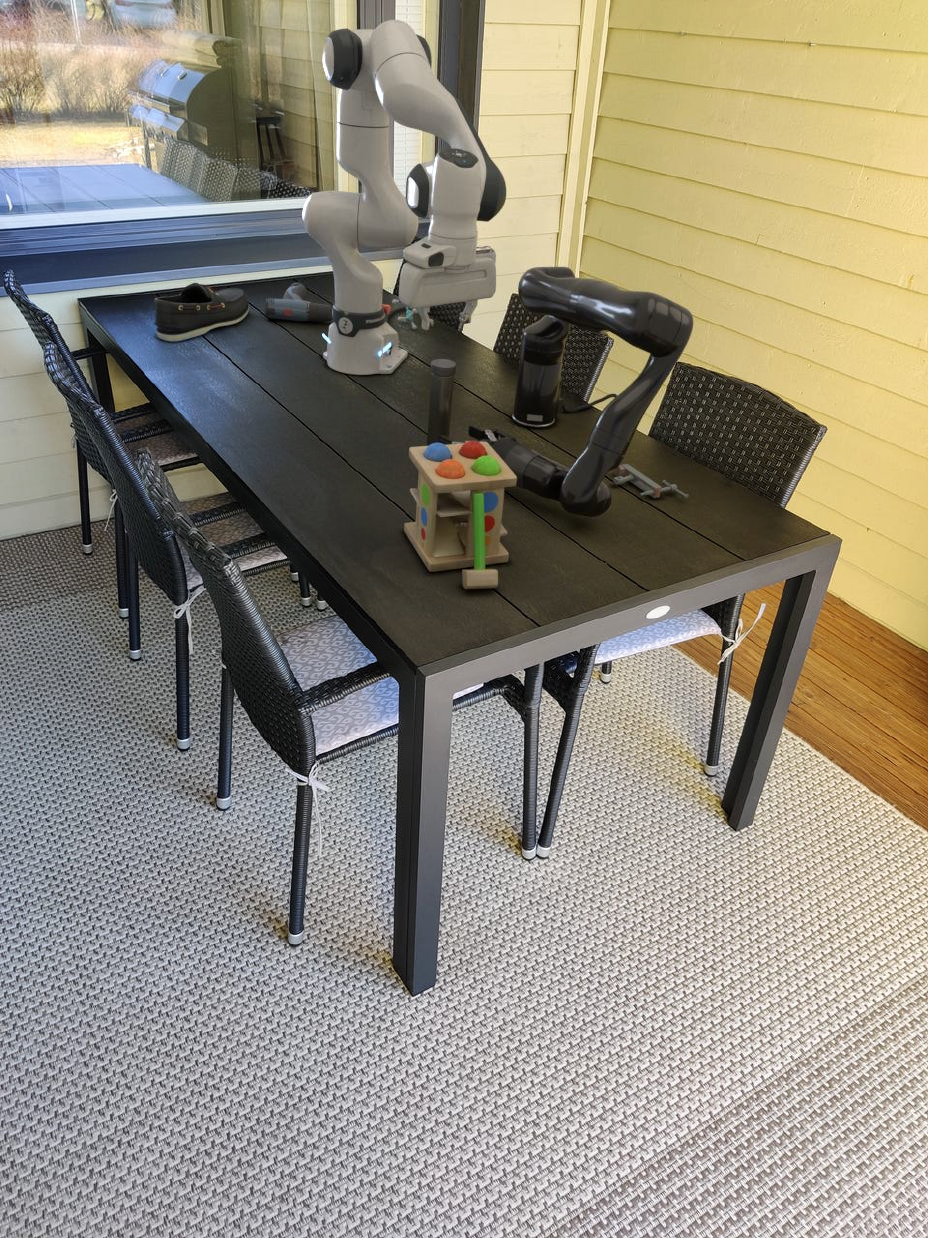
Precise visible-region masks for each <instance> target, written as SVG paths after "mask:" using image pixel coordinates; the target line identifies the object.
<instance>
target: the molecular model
mask: <svg viewBox="0 0 928 1238" xmlns="http://www.w3.org/2000/svg"><path fill="white" fill-rule="evenodd" d="M391 302H392V305H396V304H397V303H400V304H401V305H403V304H402V303H401V301H400V300H399V299H392V300H391ZM405 308H406V310H405V311H406V312H405V316H403V317H402V316H398V318H397V320H398V322H403V323H407V322H410V324H411V329H412V330H413V331H414V330H417V327H418V326H417V325H416V324H415V323H414V321H413V320H414V315H419V313H418V311H417V308H416V309H408V307H406V306H405Z"/></svg>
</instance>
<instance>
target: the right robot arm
mask: <svg viewBox="0 0 928 1238" xmlns="http://www.w3.org/2000/svg"><path fill="white" fill-rule="evenodd" d="M517 292H518V293H517V294H518V298H519V301H520V303H521V305H522V307H523V308H524V309H525V311H527V312H528V313H530V314H533V315H542V316H543V317H542V318H541V319H539V320H537V321H536V322H534V323H532V324H530V325H528V326H526V327H525V328H524V329H523V331H522V335H521V344H520V352H519V362H518V368H517V369H518V370H517V377H516V387H515V388H516V389H515V396H514V403H513V413H512V415H511V418H512V420H513V421H514V423H515V424H517V425H520V426H523V427H526V428H531V429H547V428H550V427H552V426H553V425H554V424H555V421H557V419H558V414H561V413H563V412H564V413H576V412H579V411H583V410H585V409H589V408H590V407H593V406H596V405H597V404H600V403H603V402H605V401H607V400H609V399H610V398H613V399H612V400H611V401H609V402H608V403H607V404H606V406H605V407H604V408H603V409H602V410H601V412H600V413H599V415H598V417H597V419H596V421H595V424H594V426H593V428H592V430H591V433H590V435H589V438H588V440H587V441H586V444H585V447H584V449H583V451H582V452H581V453H580V454H579V455H578V457H577V458H576V460H575V461H574V462H573V464H572V465H571V467H567V466H566V465H563V464H562V463H560V462H558V461H557V460H554V459H552V458H549V457H547V456H546V455H543V454H541V453H540V452H538V451H537V450H536V449H533V448H531V447H530V446H527V445H525V444H522V443H520V442H518V441H517V437H515V436H513V435H510V434H508V433H507V432H505V431H504V430H503V431H502V430H501V429H499V428H493V430H492V431H491V429H483V428H480V427H479V426H477V425H474V424H472V425H469V426H468V432H467V433H468V434H467V435H468V436H469V437H470V438H473V439H474V440H476V441H477V442H487V443H488V444H489V445H490V446H491V447H492V448H493V449H494V451H495V452H496V453H497V454H498V455H499V456H500V457H501V459H502V460H503V461H504V462H505V463H506V464H507V466H508V467H509V468H510V469H511V470H512V472H513V473H514V474H515V475H516V477H517V481H516V486H515V487H517V488H520V489H523V490H526V491H529V492H530V493H533V494H535V495H537V496H538V497H541V498H544V499H547V500H552V501H555V502H558V503H560V505H561V508H562V509H563V510H564V511H565V512H567V513H568V514H571V515H575V516H580V517H587V518H595V517H596V518H597V517H600V516H602V515H604V514H605V513H606V512H607V511H608V510H609V508H610V507H611V505H612V501H613V499H612V492H611V489H610V487H609V485H607V484H606V483H605V482H604V481H603V480H604V479H605V477H606V475H607V474H608V473H609V472H611V471H615V469H617V468H618V467H619V466H620V465H622V462H623V461H624V459H625V456H626V453H627V451H628V449H629V447H630V445H631V442H632V440H633V438H634V436H635V434H636V431H637V429H638V427H639V425H640V423H641V421H642V419H643V417H644V415H645V414H646V412H647V410H648V409H649V407H650V405H651V404H652V402H653V400H654V399H655V397H656V396H657V394H658V393H659V391H660V390H661V388H662V387H663V385H664V383H665V382H666V380H667V379H668V377H669V375H670V374H671V372H672V370H673V369H674V367H675V366H676V364H677V362H678V360H679V359H680V357H682V354H683V352H684V351H685V349H686V347H687V346H688V343H689V341H690V339H691V337H692V333H693V328H694V322H695V321H694V317H693V314H692V312H691V310H689V308H686V307H685V306H683V305H681V304H679V303H678V302H676V301H673V300H672V299H670V298H667V297H665V296H662V295H660V294H658V293H656V292H653V291H641V290H624V289H621V288H620V287H618V285H615V284H613V283H610V282H608V281H604V280H601V279H596V278H589V277H576V275H575V273H574V271H573V270H572V269H571V268H570V267H568V266H536V267H532V268H529V269H527V270H526V271H525V272H523V274H522V275H521V277H520V279H519V282H518V286H517ZM571 325H572V326H575V327H577V328H579V329H582V330H583V331H588V332H591V333H594V334H606V333H609V332H610V333H611V334H613V335H615V336H617V337H618V338H620V339H621V340H623V341H624V342H626V343H627V344H629V345H631V346H632V347H633V348H636V349H639V350H641V351H643V352H646V353H648V354H649V356H648V358H647V361H646V363H645V365H644V367H643V368H642V370H641V372H640V373H639V374H638V375H637V377H636V378H635V379H634V380H633V381H632V382H631V384H629V385H628V386H627V387H626V388H625V389H623V391H621V392H620V393H619V394H617V393H609V394H606V395H605V396H603V397H601V398H598V399H596V400H594V401H592V402H590V403H586V404H583V405H580V406H577V407H575V408H566V404H565V402H564V398H562V397H561V391H562V384H563V379H562V378H561V376H562V369H563V362H564V361H563V360H564V354H565V346H566V341H567V339H568V337H569V334H570V329H571ZM468 441H469V440H465V441H464V442H460V441H456V440H454V439H452V438H450V437H449V438H448V437H445V436H443V435H442V436H439V442H438V443H442V444H444V445H450V444H462V443H466V442H468Z"/></svg>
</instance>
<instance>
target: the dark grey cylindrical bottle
mask: <svg viewBox="0 0 928 1238" xmlns="http://www.w3.org/2000/svg"><path fill="white" fill-rule="evenodd" d="M454 380H455V374H454V375H453V376H447V377H443V376H437V375H434V374H432V373H431V376H430V388H429V389H430V392H429V406H428V418H427V419H428V420H427V435H426V436H427V437H426V446H429V445H431V444H433V443H438V442H439V436H442V435H443V436H445V437H448V438H450V431H451V418H452V406H453V405H452V404H453V392H454V382H455V381H454Z"/></svg>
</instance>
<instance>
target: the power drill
mask: <svg viewBox="0 0 928 1238" xmlns="http://www.w3.org/2000/svg"><path fill="white" fill-rule="evenodd" d="M307 295H308V290H307V287H306V285H304V284H303V283H301V282H293V283H292V284H291V285H290V286H289V287H288V288H287V289H286V291H285V292H284V294H283V297H282V298H266V299H265V302H264V313H265V314H264V316H265V318H267V319H274V320H275V319H276V320H283V321H294V322H295V321H297V322H332V321H333V314H332V311H333V305H331V304H324V303H317V302H313V301H307V300H305V299H306V297H307Z"/></svg>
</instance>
